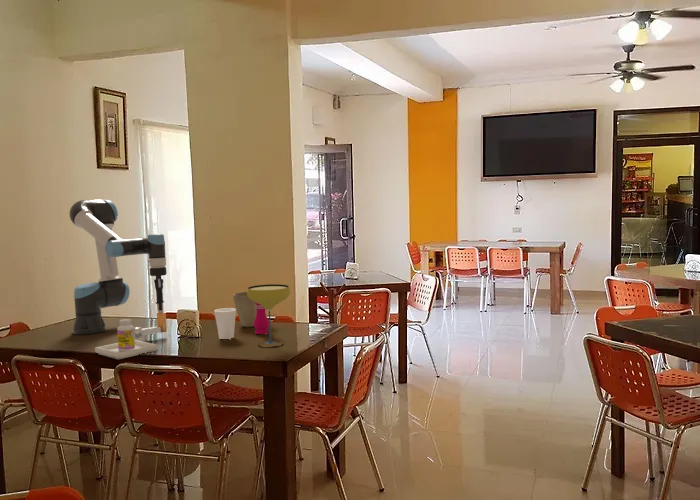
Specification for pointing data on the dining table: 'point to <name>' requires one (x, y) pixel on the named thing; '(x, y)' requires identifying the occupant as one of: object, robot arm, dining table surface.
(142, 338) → the crank base
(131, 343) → the supplement bottle
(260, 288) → the cocktail glass
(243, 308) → the plant pot
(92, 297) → the robot arm
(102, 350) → the tray
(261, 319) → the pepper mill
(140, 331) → the crank lever
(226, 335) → the foam cup
